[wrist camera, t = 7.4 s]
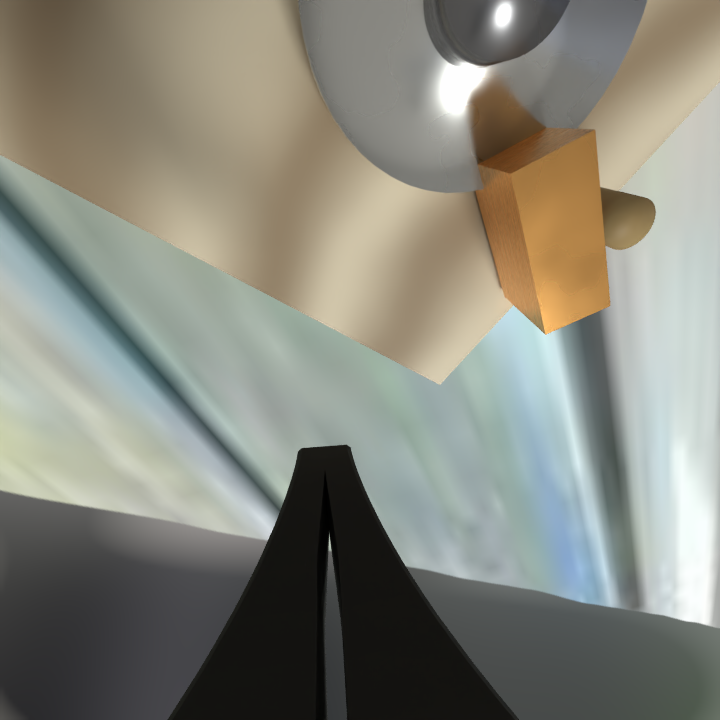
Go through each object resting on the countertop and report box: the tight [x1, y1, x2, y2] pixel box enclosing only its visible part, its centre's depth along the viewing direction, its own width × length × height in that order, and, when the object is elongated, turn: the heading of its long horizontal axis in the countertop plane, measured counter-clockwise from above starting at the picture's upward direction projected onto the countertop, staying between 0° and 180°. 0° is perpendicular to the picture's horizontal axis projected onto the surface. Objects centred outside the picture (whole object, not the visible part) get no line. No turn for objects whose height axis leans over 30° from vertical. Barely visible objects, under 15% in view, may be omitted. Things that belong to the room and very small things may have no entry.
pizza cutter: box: [298, 0, 647, 335], centre depth 11 cm, size 15×10×4 cm, turn 26°
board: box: [0, 0, 720, 385], centre depth 11 cm, size 20×17×5 cm
